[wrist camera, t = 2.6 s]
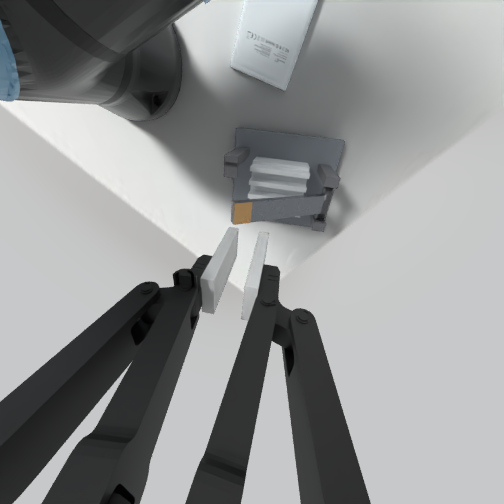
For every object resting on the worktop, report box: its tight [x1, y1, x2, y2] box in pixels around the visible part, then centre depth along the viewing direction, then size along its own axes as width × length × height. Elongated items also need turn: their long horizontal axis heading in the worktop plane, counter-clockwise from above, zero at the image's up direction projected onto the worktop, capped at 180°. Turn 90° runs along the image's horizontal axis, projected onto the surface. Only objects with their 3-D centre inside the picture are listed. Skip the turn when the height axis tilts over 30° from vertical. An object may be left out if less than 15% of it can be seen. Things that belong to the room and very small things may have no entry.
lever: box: [231, 186, 334, 225], centre depth 26 cm, size 14×4×1 cm
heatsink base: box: [224, 128, 345, 232], centre depth 32 cm, size 16×14×10 cm
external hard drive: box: [230, 0, 318, 91], centre depth 26 cm, size 2×8×12 cm
